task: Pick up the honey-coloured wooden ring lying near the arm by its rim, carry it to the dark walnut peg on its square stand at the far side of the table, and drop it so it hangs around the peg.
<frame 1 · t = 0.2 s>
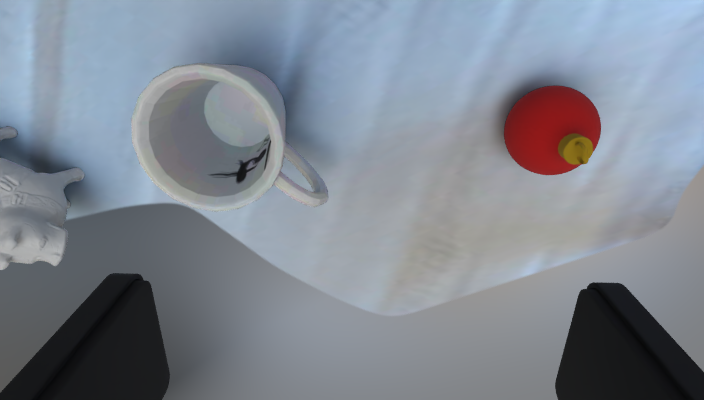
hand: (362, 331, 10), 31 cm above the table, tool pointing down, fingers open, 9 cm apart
mug: (264, 124, 40), on the table
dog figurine: (50, 173, 42), on the table
christmas ornament: (534, 119, 39), on the table
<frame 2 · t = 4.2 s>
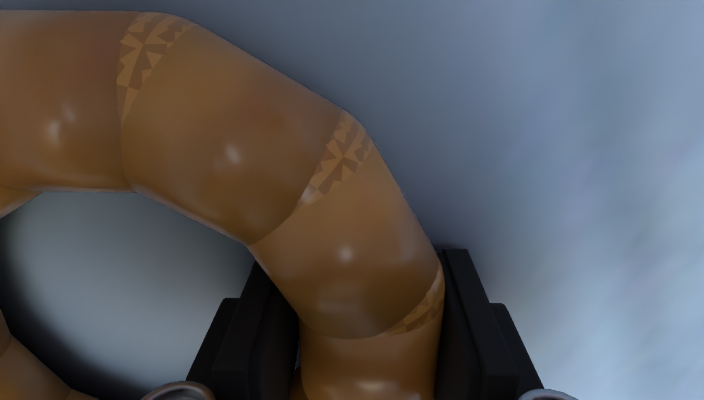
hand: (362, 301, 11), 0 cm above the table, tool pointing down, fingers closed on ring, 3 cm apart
ring: (140, 333, 10), point 2 cm above the table, touching gripper
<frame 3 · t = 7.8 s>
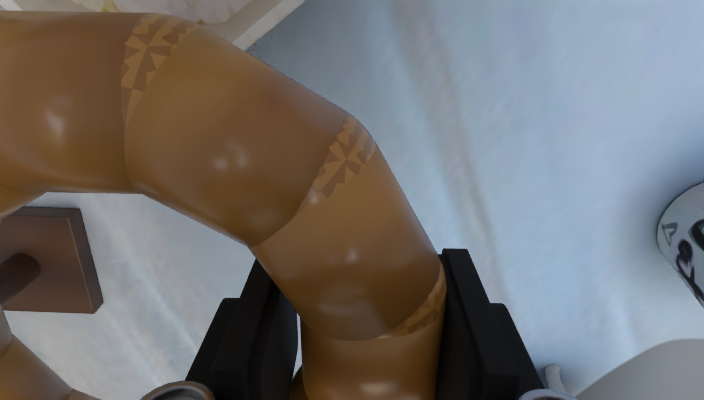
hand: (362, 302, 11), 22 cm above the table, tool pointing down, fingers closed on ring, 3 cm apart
ring: (141, 333, 10), point 23 cm above the table, touching gripper
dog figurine: (525, 382, 41), on the table
post: (37, 256, 36), on the table
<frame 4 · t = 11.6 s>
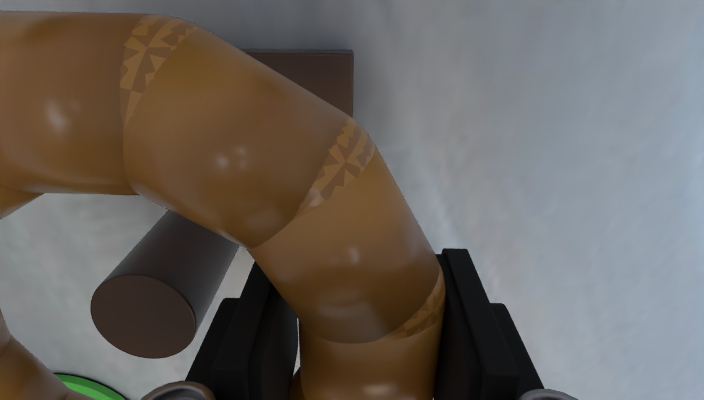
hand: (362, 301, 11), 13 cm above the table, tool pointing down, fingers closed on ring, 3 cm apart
ring: (140, 335, 10), point 14 cm above the table, touching gripper
post: (263, 142, 22), on the table
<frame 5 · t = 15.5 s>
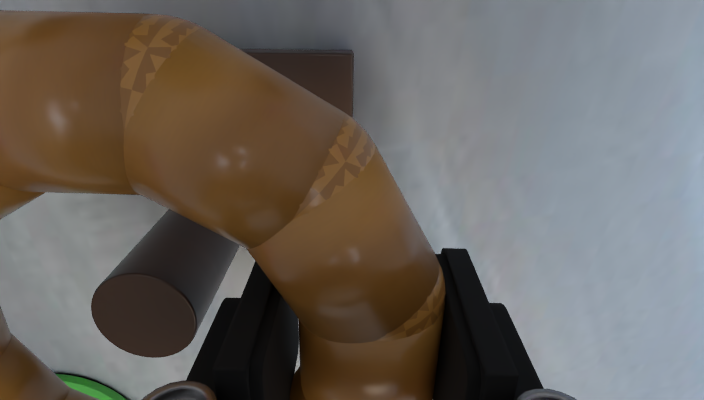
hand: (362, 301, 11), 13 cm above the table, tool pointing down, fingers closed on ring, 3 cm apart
ring: (140, 334, 10), point 14 cm above the table, touching gripper
post: (263, 142, 22), on the table
when the fingers open (13 cm above the table, at t = 19.2 s): ring drops 11 cm, resting on post.
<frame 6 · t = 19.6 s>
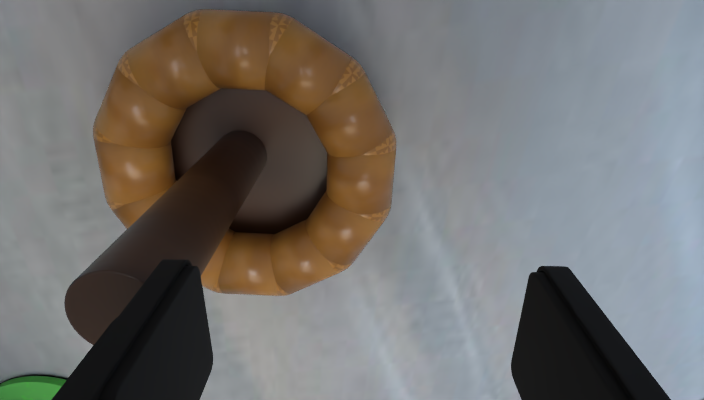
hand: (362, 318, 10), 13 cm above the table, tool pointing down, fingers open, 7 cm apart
ring: (248, 168, 20), point 3 cm above the table, touching post
post: (248, 145, 23), on the table
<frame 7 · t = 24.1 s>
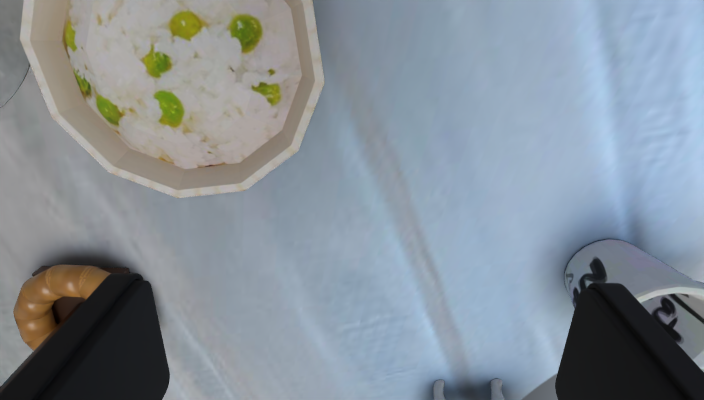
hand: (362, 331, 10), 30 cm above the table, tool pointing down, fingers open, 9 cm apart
mug: (623, 269, 45), on the table
ring: (85, 322, 45), point 3 cm above the table, touching post
bowl: (216, 47, 37), on the table
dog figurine: (476, 392, 52), on the table
post: (94, 302, 47), on the table
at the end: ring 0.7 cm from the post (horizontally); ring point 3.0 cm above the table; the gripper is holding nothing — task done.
